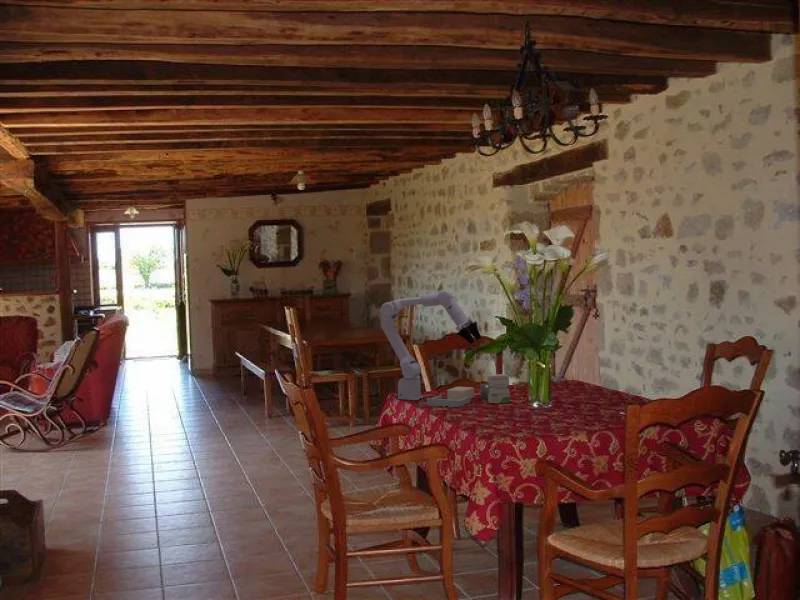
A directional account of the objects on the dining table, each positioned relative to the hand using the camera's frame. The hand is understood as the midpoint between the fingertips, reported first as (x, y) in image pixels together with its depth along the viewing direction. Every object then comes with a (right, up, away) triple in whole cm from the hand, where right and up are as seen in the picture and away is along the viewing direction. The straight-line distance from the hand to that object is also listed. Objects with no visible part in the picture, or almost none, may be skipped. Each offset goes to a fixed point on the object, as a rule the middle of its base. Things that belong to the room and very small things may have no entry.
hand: (476, 340), depth 375 cm
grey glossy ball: (+5, -25, +6) cm, 27 cm away
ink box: (+9, -26, -4) cm, 28 cm away
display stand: (-12, -26, -5) cm, 29 cm away
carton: (-6, -26, +5) cm, 27 cm away
